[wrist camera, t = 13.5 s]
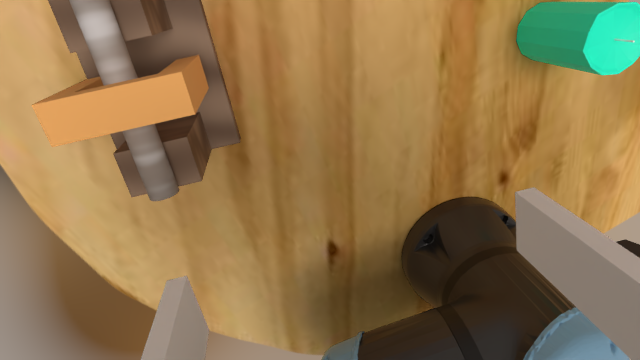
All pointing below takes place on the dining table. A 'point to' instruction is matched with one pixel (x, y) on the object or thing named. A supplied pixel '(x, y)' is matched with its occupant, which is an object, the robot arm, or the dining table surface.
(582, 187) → the dining table surface
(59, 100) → the orange open frame
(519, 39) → the candle
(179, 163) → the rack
